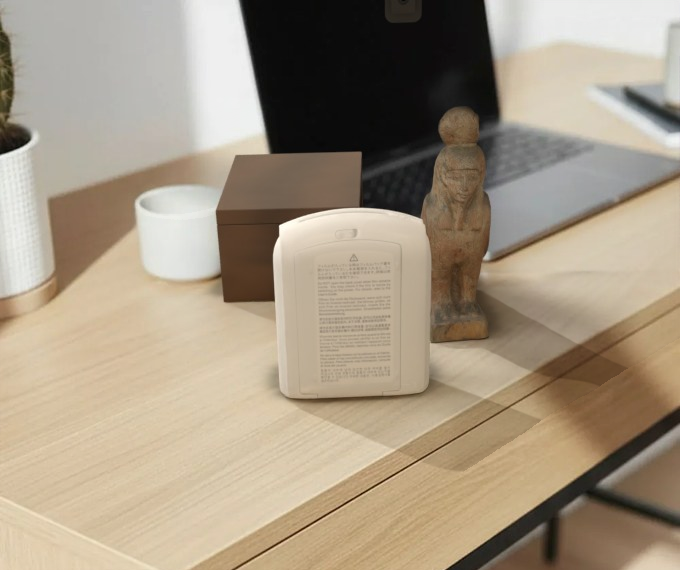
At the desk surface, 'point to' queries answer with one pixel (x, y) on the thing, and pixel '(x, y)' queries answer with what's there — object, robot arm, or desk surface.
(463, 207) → the worn brown figurine
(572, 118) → the desk surface
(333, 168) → the lidded wooden box
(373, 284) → the photo printer
